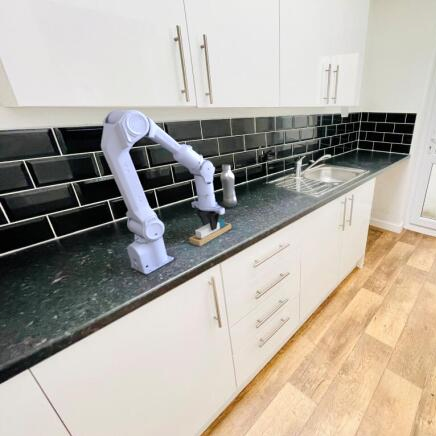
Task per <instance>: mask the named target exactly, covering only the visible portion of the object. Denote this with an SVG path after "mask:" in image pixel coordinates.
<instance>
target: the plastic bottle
mask: <svg viewBox="0 0 436 436" xmlns="http://www.w3.org/2000/svg"><path fill="white" fill-rule="evenodd" d="M221 169H222V171H221V173H220V183H221V185H222V191H223V197H222V198H223V199H222V202H223V206H224V208H235V207H236V206H237V205H238V200H237V196H236V190H235V175H234V173H233V172H232V170H231V169H232V168H231V164H228V163H227V164H222V165H221Z"/></svg>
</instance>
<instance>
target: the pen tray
mask: <svg viewBox="0 0 436 436" xmlns="http://www.w3.org/2000/svg"><path fill="white" fill-rule="evenodd" d="M232 228H233V227H232V223H228V222H226V221H225V227H223V228H221V229H219V230H217V231H216V232H214V233H212V234H210V235H208V236H206V237H204V238H203V239H200V238H197V237H196V234H194V235H192V236H190V237H188V239H189V243H190V244H193V245H196V246H198V247H201V246H203V245H205V244H207V243H209V242H210V241H213V240H214V239H216V238H217V237H219V236H221V235H222V234H225V233H226V232H228V231H229V230H231V229H232Z"/></svg>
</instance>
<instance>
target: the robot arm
mask: <svg viewBox="0 0 436 436" xmlns="http://www.w3.org/2000/svg"><path fill="white" fill-rule="evenodd" d="M102 125H103V129H102V135H101V143H100V148H101V151H102V153H103V156H104V158H105V160H106V162H107V164H108V167H109V169H110V171H111V174H112V177H113V179H114V181H115V183H116V185H117V188H118V190H119V193H120V194H121V197H122V199H123V202H124V204H125V206H126V208H127V212H125V215H126V218H127V222H126V223H127V228H128V230H129V231H130V233H131V232H132V233H133V234H134V240H133V242H132V243H130V244H129V245H128V246H127V247H126V251H127V254H128V258H129V262H130V264H131V265H130V268H132V269H134V270H136V271H138V272H140V273H142V274H144V275H149V274H150V273H153V272H154V271H156V270H158V269H160V268H162V267H163V266H165V265H166V264H168V263H170V262H172V261H174V260H175V258H174V257H173V256H170V255H168V253H167V250H166V245H165V241H164V238H163V235H164V233H165V224H164V222H163V221H161V220H160V219H159V218H158V215H157V214H156V211H154V209H152V208H151V206H150V205H149V202H148V199H147V197H146V194H145V191H144V188H143V186H142V184H141V181H140V179H139V175H138V173H137V171H136V168H135V166H134V163H133V160H132V157H131V155H130V150H131V149H132V147H133V145H134V144H135V143H137V142H138V141H139V140H141V139H142V138H148V139H150V140H151V141H153V142H155V143H157V144H158V145H159V146H161V147H163V148H164V149H165V150H167V151H169V152H170V153H171V154H172V157H173V159H174V160H175V161H176V162H178V163H179V164H180V165H182V166H184V167H185V168H186V169H188V171H189V173H190V174H191V175H193V177H194V185H195V190H196V195H197V200H194V201H192V202H191V207H192V209H193V208H196V209H197V210H196V211H195V214H196V215H197V216H198V217H199V219H200V221H201V223H202V226H205V225H207V224H209V223H210V227H211V230H215V229H217V223H218V218H220V216H222V215H225V214H226V210H225V207H223V206H220V205H219V204H218V202H217V201H216V198H215V197H216V196H215V190H214V189H215V188H214V182H213V181H214V174H215V170H216V167H215V166H214V164H213V162H211V160H209V159H204V157H203V155H202V154H198V152H196V151H195V150H193V146H191V145H190V144H185V143H183V144H179V142H177V140H175V139H174V138H173V137H172V136H171V135H170V134H168V133H167V132H166V131H165V130H163V129H162V128H161V127H160V126H159V125H157V124H156V123H155V121H154V120H153V119H151V118H150V117H148V116H146V115H145V113H143V112H141V111H139V110H136V109H131V110H122V109H113V110H111V111H109V112H108V114H107V115H106V116H105V117H104V118H103V119H102Z"/></svg>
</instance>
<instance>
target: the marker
mask: <svg viewBox="0 0 436 436" xmlns="http://www.w3.org/2000/svg"><path fill="white" fill-rule="evenodd" d="M225 222H226V220H225V219H223V218H220V217H219V218H218V223H217V229H215V230H211V227H210V223H209V224H207V225H205V226H204V225H202V226H201V227H199V228H197V229H195V230H194V231H195V232H194V233H195V235H196V237H197V238H200V239H203V238H204V237H206V236H208V235H210V234H212V233H214V232H216V231H217V230H219V229H221V228H223V227H225Z"/></svg>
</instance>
